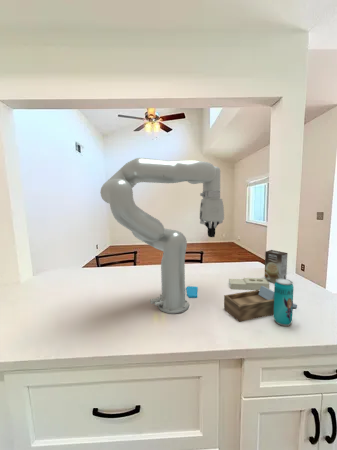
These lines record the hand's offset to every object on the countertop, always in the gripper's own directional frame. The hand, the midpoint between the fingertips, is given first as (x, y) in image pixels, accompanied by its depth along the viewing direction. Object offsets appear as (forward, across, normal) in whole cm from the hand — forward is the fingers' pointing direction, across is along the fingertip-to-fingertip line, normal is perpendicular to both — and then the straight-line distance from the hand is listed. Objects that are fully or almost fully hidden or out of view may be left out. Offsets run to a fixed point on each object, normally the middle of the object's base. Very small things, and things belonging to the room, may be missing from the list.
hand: (211, 236), depth 96 cm
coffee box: (+27, +40, +4) cm, 49 cm away
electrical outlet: (+28, +22, +2) cm, 35 cm away
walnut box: (+27, +6, -18) cm, 33 cm away
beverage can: (+27, +12, -29) cm, 42 cm away
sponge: (+28, -8, +5) cm, 29 cm away
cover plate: (+25, +20, -18) cm, 37 cm away
